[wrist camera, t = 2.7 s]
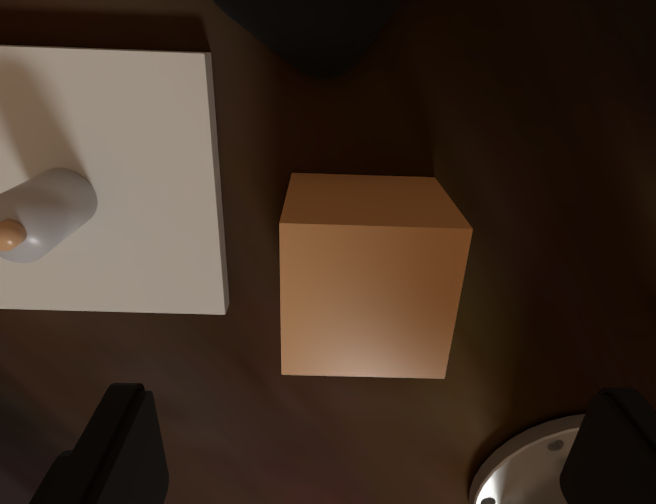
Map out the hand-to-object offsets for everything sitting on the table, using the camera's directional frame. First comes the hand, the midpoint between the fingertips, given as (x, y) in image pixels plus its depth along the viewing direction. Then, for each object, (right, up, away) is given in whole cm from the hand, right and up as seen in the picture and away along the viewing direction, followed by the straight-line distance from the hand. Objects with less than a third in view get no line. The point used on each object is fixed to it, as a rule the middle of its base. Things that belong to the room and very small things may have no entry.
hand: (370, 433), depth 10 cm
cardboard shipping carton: (0, +4, +10) cm, 11 cm away
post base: (-11, +7, +9) cm, 16 cm away
